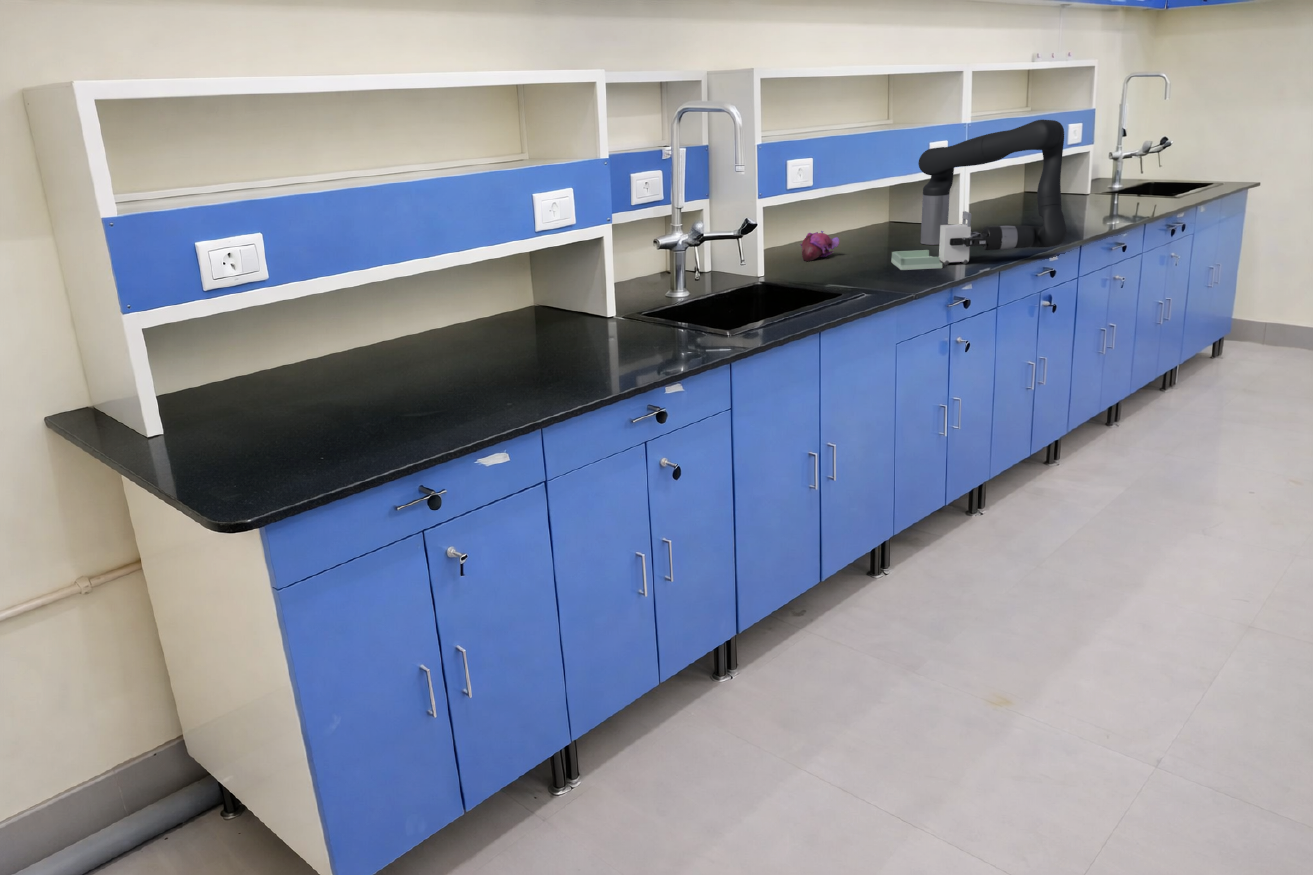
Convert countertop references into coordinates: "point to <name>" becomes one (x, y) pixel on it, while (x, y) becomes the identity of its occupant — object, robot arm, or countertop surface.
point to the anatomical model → (817, 245)
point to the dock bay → (915, 260)
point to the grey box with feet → (956, 251)
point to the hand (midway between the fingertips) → (947, 240)
